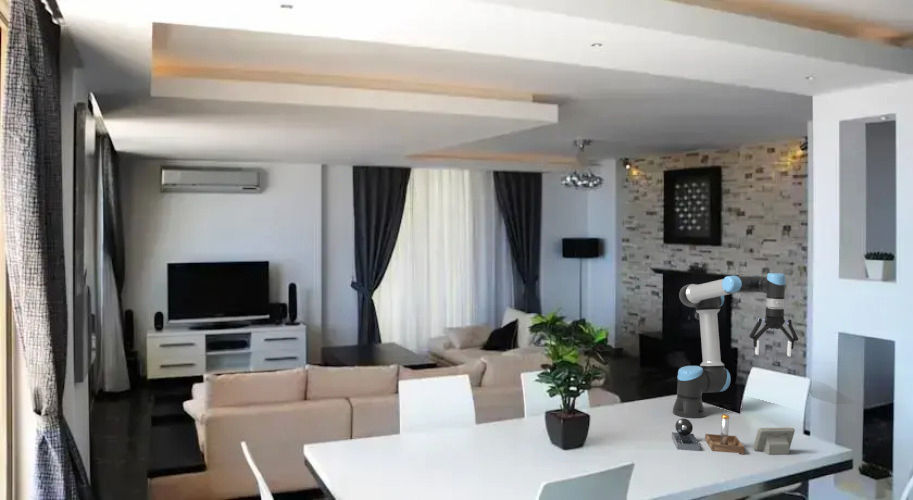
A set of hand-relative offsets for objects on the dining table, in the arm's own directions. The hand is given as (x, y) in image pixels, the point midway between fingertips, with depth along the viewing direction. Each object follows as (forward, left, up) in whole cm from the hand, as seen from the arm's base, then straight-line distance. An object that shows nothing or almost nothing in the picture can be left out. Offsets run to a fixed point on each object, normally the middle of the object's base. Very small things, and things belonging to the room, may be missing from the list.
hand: (772, 355), depth 318 cm
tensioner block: (+23, -40, -37) cm, 59 cm away
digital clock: (+23, -4, -37) cm, 44 cm away
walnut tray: (+22, -24, -37) cm, 49 cm away
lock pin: (+22, -24, -36) cm, 49 cm away
